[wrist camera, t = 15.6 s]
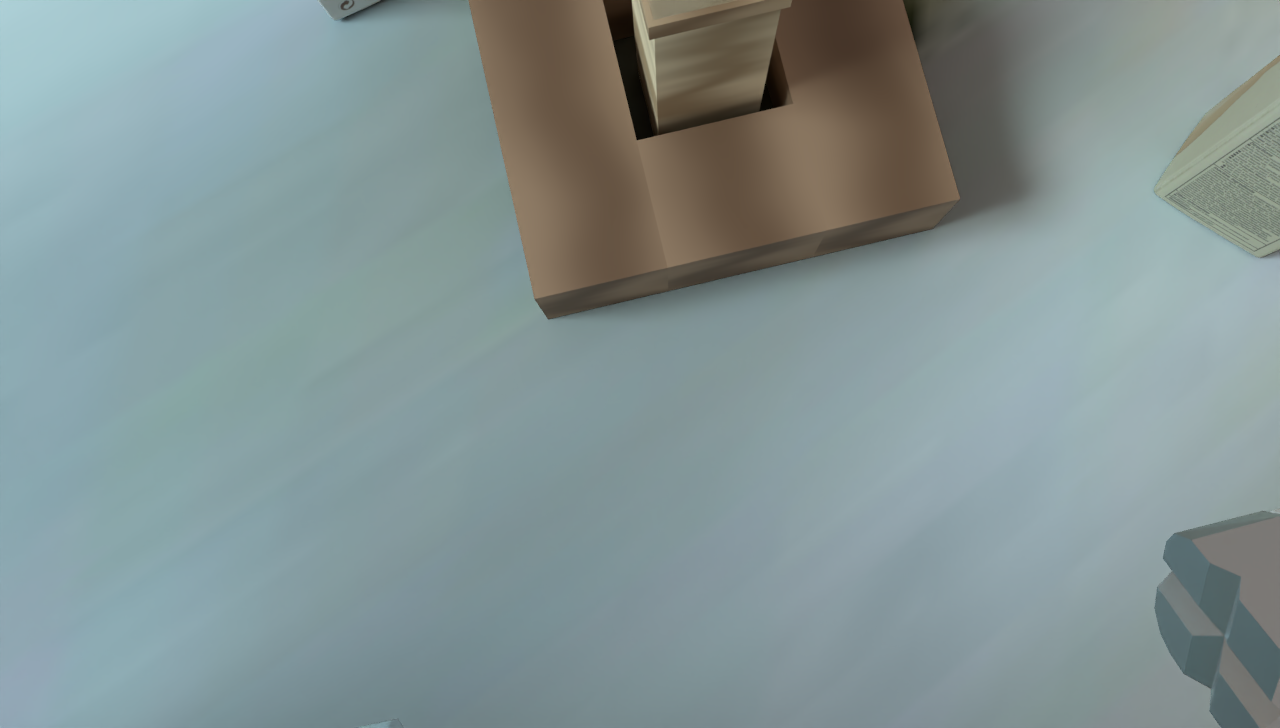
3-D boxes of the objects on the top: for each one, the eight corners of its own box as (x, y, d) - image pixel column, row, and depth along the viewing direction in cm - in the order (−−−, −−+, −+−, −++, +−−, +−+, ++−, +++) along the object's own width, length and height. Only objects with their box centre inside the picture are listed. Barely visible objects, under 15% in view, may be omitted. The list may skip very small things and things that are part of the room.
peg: (655, 164, 42) (648, 27, 30) (631, 66, 42) (615, -106, 30) (759, 140, 42) (793, -7, 30) (733, 42, 42) (757, -140, 30)
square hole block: (548, 319, 41) (534, 298, 37) (468, -39, 43) (447, -94, 39) (932, 228, 41) (960, 198, 37) (832, -124, 43) (848, -188, 39)
